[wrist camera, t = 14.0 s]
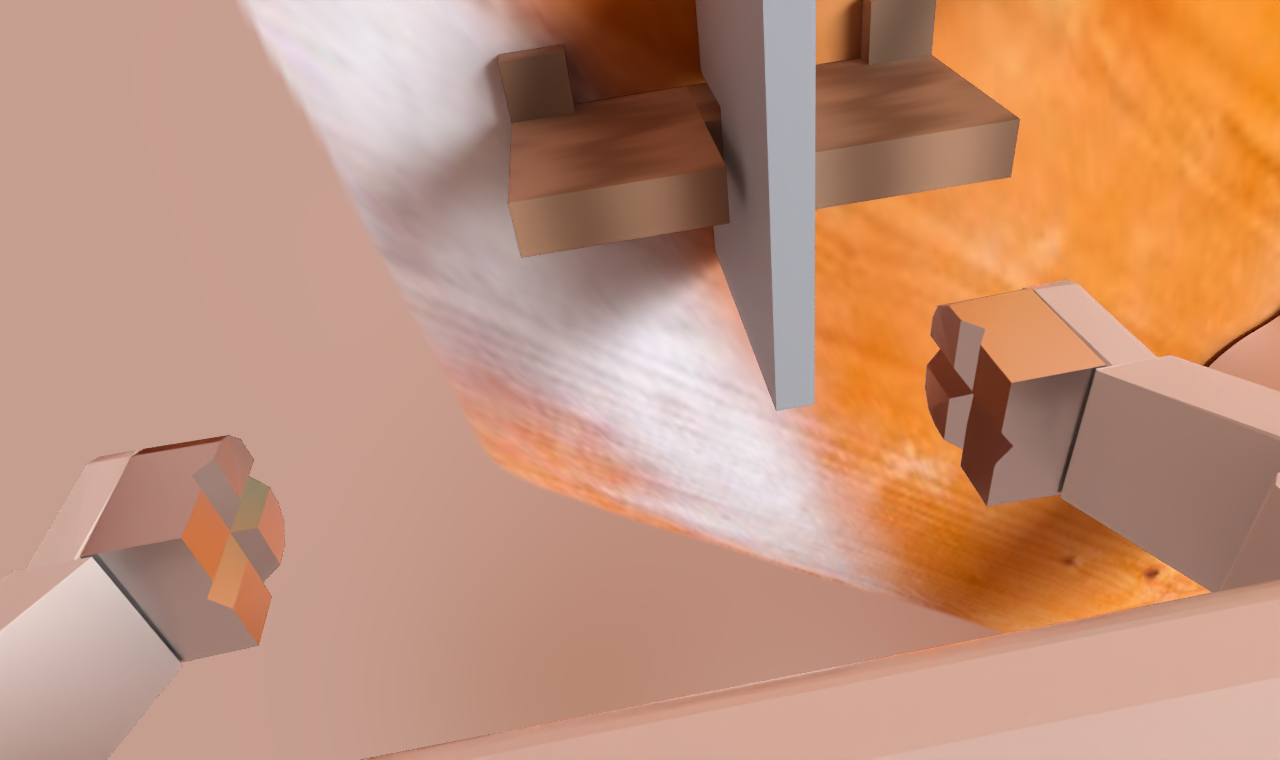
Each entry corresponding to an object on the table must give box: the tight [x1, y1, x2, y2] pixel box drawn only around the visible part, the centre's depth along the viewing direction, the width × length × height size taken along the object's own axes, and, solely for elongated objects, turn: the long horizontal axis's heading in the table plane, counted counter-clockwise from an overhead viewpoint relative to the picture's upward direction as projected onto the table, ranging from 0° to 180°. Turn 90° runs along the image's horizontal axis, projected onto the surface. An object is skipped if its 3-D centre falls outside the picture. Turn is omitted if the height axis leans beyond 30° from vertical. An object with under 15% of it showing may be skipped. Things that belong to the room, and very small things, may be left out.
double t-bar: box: [498, 0, 1020, 258], centre depth 36 cm, size 20×8×10 cm, turn 97°
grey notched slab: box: [695, 0, 816, 411], centre depth 35 cm, size 16×2×14 cm, turn 7°
